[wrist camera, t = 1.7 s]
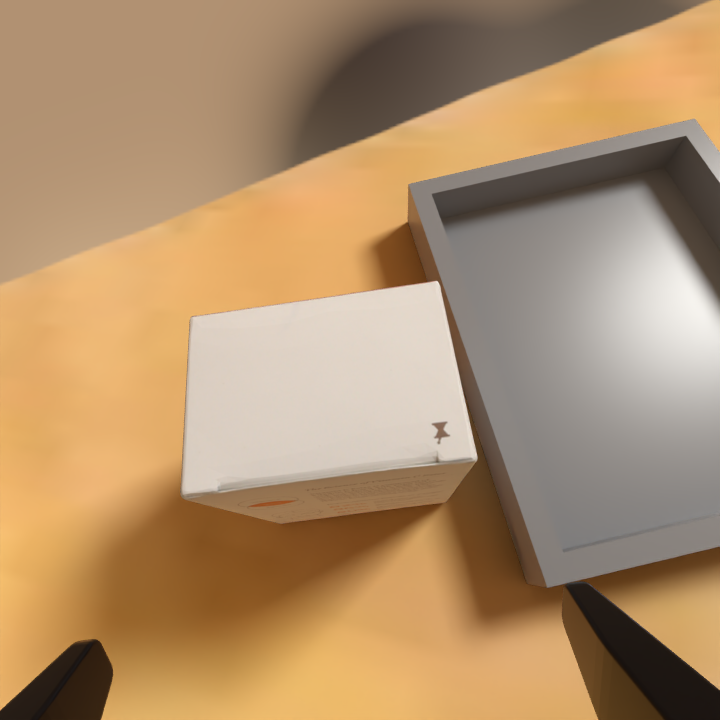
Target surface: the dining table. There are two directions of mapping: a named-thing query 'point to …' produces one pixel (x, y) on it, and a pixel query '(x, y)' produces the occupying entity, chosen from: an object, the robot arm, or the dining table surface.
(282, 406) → the small box
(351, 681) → the dining table surface
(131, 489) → the dining table surface
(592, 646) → the robot arm
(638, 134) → the tray
